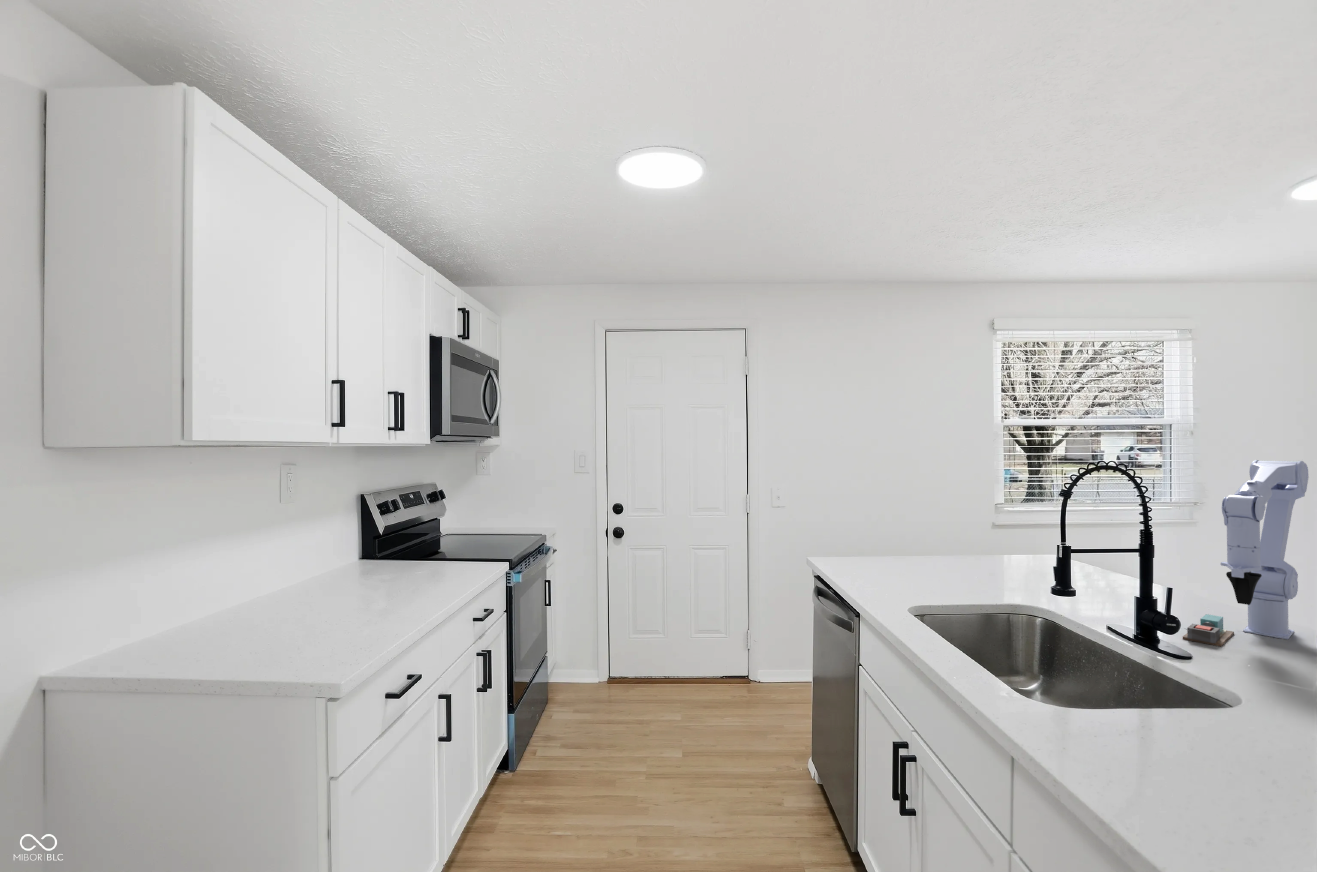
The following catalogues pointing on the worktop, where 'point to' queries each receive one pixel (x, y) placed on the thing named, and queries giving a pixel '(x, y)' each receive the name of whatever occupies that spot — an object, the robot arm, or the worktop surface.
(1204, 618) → the teal block
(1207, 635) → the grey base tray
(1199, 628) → the button
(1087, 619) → the worktop surface
